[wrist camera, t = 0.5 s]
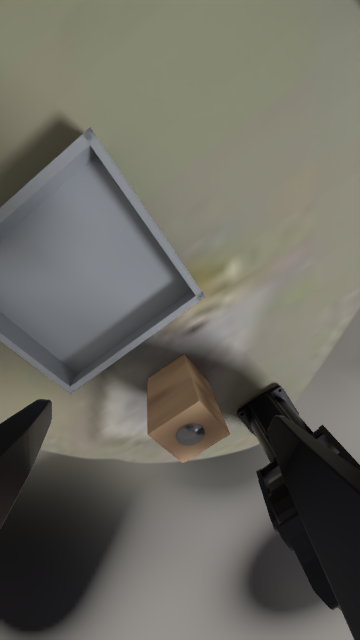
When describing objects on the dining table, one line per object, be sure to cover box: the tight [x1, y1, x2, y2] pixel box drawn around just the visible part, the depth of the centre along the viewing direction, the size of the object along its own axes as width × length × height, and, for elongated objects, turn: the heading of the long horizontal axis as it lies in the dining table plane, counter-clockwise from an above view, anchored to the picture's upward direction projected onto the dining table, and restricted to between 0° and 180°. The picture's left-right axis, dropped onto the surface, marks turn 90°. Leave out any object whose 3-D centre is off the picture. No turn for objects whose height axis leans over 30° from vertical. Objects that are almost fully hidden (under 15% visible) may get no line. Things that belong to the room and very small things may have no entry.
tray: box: [0, 128, 205, 394], centre depth 17 cm, size 13×15×2 cm
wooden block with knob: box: [147, 354, 230, 463], centre depth 20 cm, size 5×5×7 cm
